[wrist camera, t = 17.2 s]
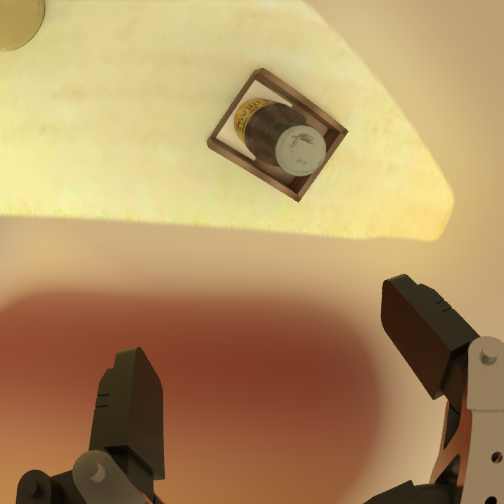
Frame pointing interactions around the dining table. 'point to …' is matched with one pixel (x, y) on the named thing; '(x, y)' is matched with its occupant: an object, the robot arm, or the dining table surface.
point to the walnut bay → (277, 90)
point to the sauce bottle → (280, 136)
